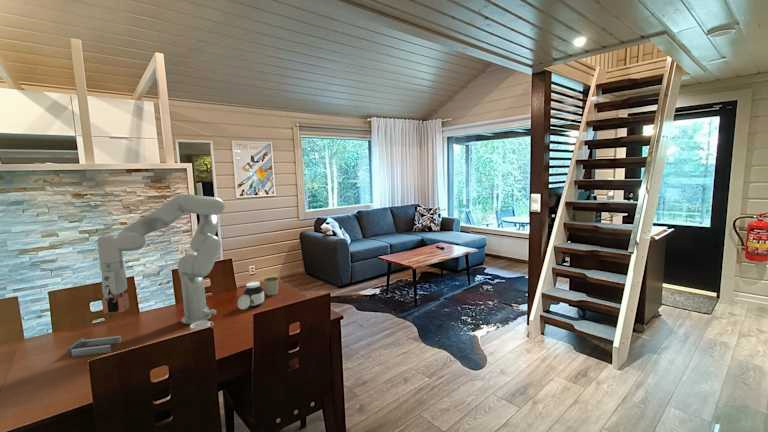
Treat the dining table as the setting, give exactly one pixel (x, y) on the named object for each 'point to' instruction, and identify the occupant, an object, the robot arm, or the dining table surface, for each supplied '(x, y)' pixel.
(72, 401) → the dining table surface
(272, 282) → the flower pot
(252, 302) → the spread jar
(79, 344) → the hitch channel
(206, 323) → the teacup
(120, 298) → the lock block
